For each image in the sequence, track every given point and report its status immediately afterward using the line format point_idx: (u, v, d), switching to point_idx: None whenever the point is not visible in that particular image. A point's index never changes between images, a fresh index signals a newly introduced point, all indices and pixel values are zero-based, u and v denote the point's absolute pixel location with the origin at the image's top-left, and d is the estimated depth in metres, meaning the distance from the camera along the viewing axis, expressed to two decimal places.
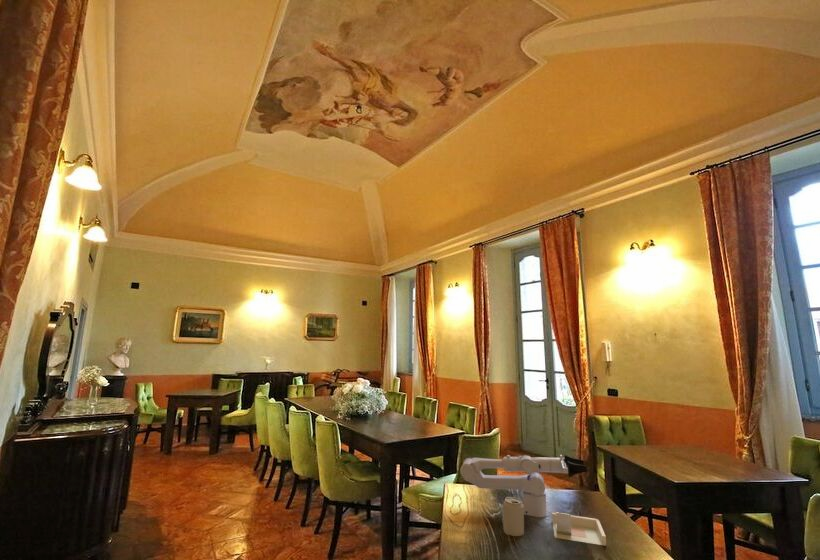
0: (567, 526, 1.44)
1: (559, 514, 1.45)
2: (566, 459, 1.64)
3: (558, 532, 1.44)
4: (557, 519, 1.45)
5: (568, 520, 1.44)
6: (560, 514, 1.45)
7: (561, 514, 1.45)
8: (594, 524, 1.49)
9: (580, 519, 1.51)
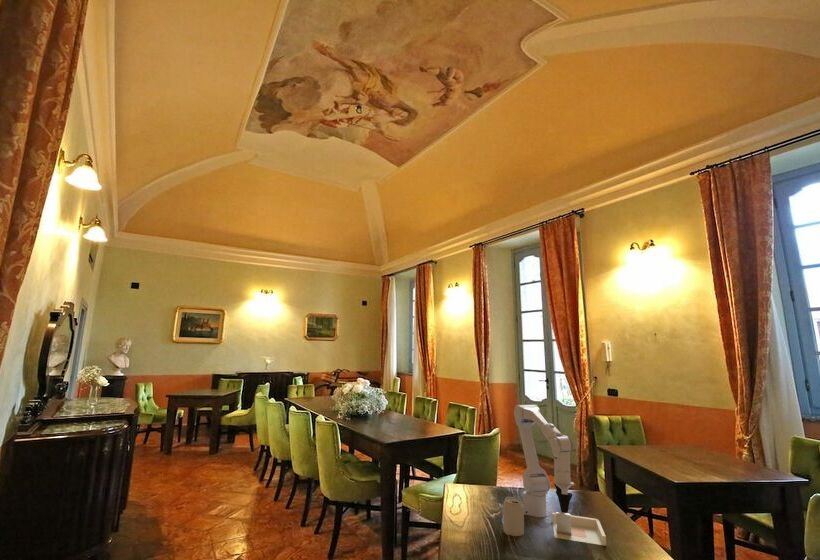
0: (567, 526, 1.44)
1: (559, 514, 1.45)
2: None
3: (558, 532, 1.44)
4: (557, 519, 1.45)
5: (568, 520, 1.44)
6: (560, 514, 1.45)
7: (561, 514, 1.45)
8: (594, 524, 1.49)
9: (580, 519, 1.51)
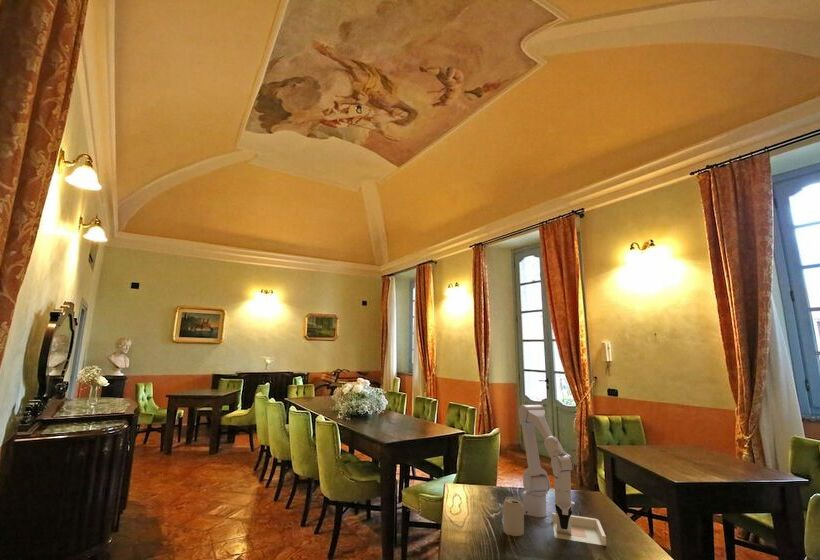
0: None
1: None
2: None
3: (558, 532, 1.44)
4: (557, 519, 1.45)
5: None
6: None
7: None
8: (594, 524, 1.49)
9: (580, 519, 1.51)
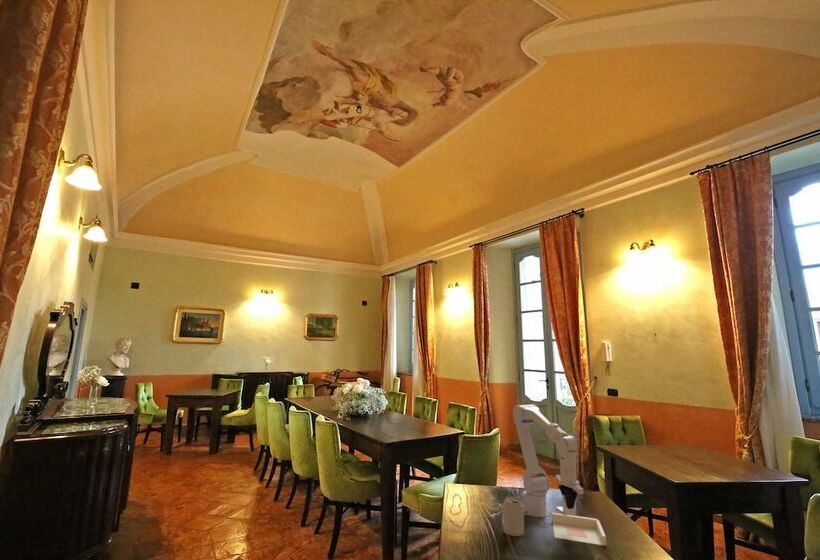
0: None
1: None
2: None
3: (565, 514, 1.45)
4: (564, 501, 1.45)
5: None
6: None
7: None
8: (594, 524, 1.49)
9: (580, 519, 1.51)
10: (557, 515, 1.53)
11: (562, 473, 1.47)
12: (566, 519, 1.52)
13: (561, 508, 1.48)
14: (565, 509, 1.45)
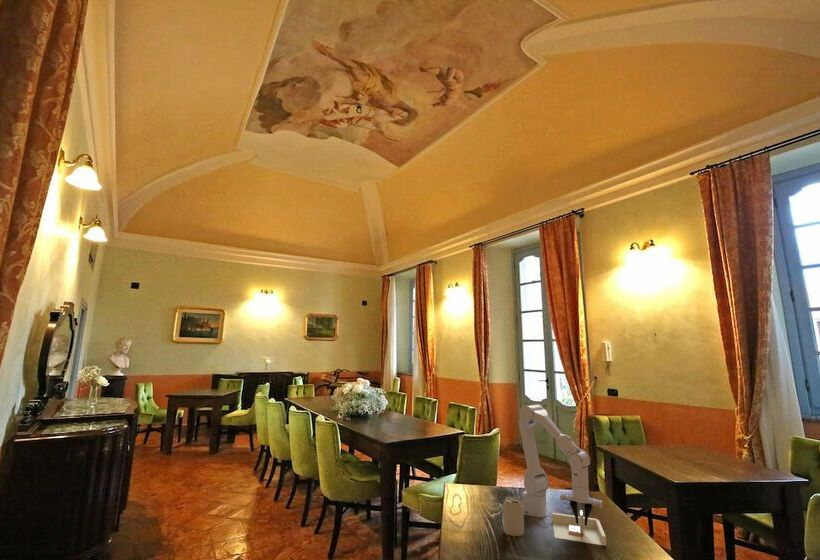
0: None
1: (582, 515, 1.45)
2: None
3: (583, 534, 1.43)
4: None
5: None
6: (582, 515, 1.45)
7: (582, 514, 1.45)
8: (594, 524, 1.49)
9: None
10: (557, 515, 1.53)
11: (581, 491, 1.45)
12: (566, 519, 1.52)
13: (573, 529, 1.45)
14: (583, 529, 1.43)
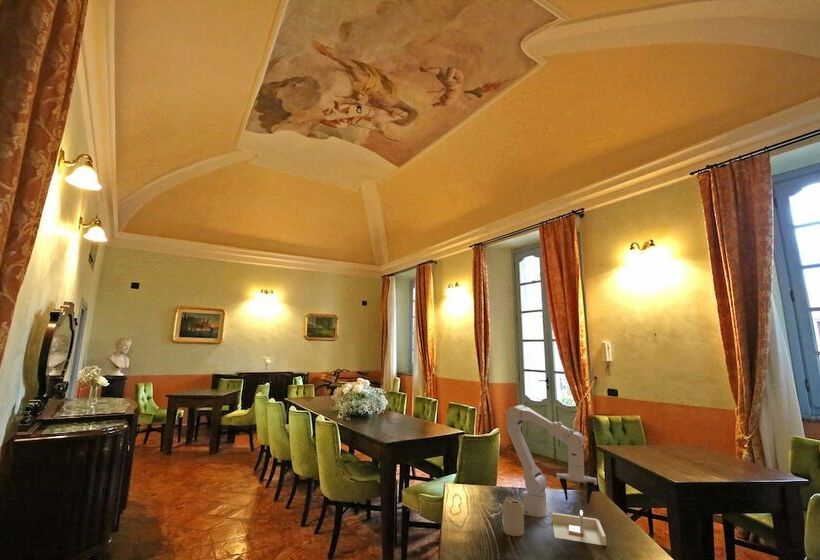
0: None
1: (582, 515, 1.45)
2: None
3: (583, 534, 1.43)
4: None
5: None
6: (582, 515, 1.45)
7: (582, 514, 1.45)
8: (594, 524, 1.49)
9: None
10: (557, 515, 1.53)
11: (578, 470, 1.51)
12: (566, 519, 1.52)
13: (573, 529, 1.45)
14: (583, 529, 1.43)
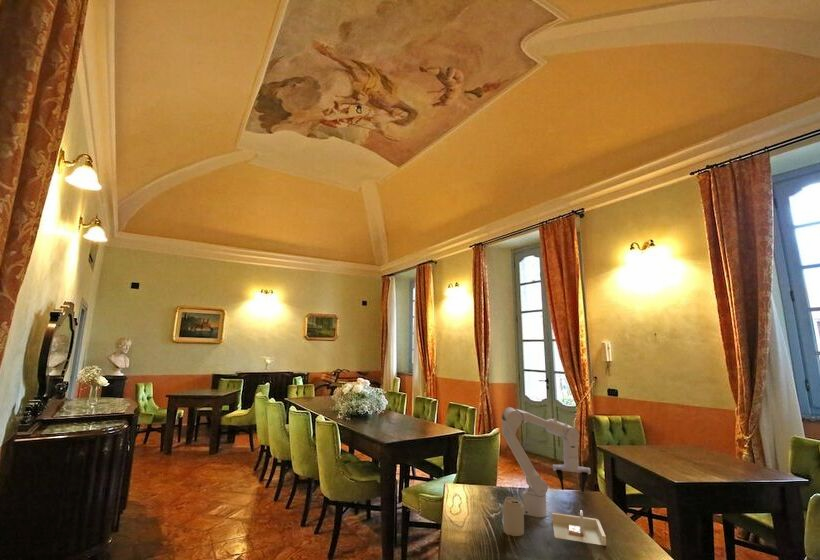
0: None
1: (582, 515, 1.45)
2: (561, 471, 1.65)
3: (583, 534, 1.43)
4: None
5: None
6: (582, 515, 1.45)
7: (582, 514, 1.45)
8: (594, 524, 1.49)
9: None
10: (557, 515, 1.53)
11: (572, 460, 1.61)
12: (566, 519, 1.52)
13: (573, 529, 1.45)
14: (583, 529, 1.43)
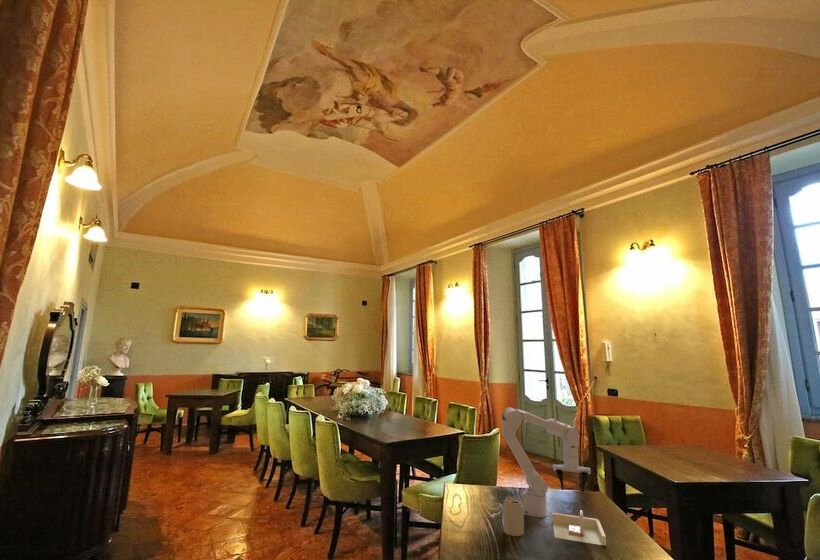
0: None
1: (582, 515, 1.45)
2: (561, 471, 1.65)
3: (583, 534, 1.43)
4: None
5: None
6: (582, 515, 1.45)
7: (582, 514, 1.45)
8: (594, 524, 1.49)
9: None
10: (557, 515, 1.53)
11: (572, 460, 1.61)
12: (566, 519, 1.52)
13: (573, 529, 1.45)
14: (583, 529, 1.43)
